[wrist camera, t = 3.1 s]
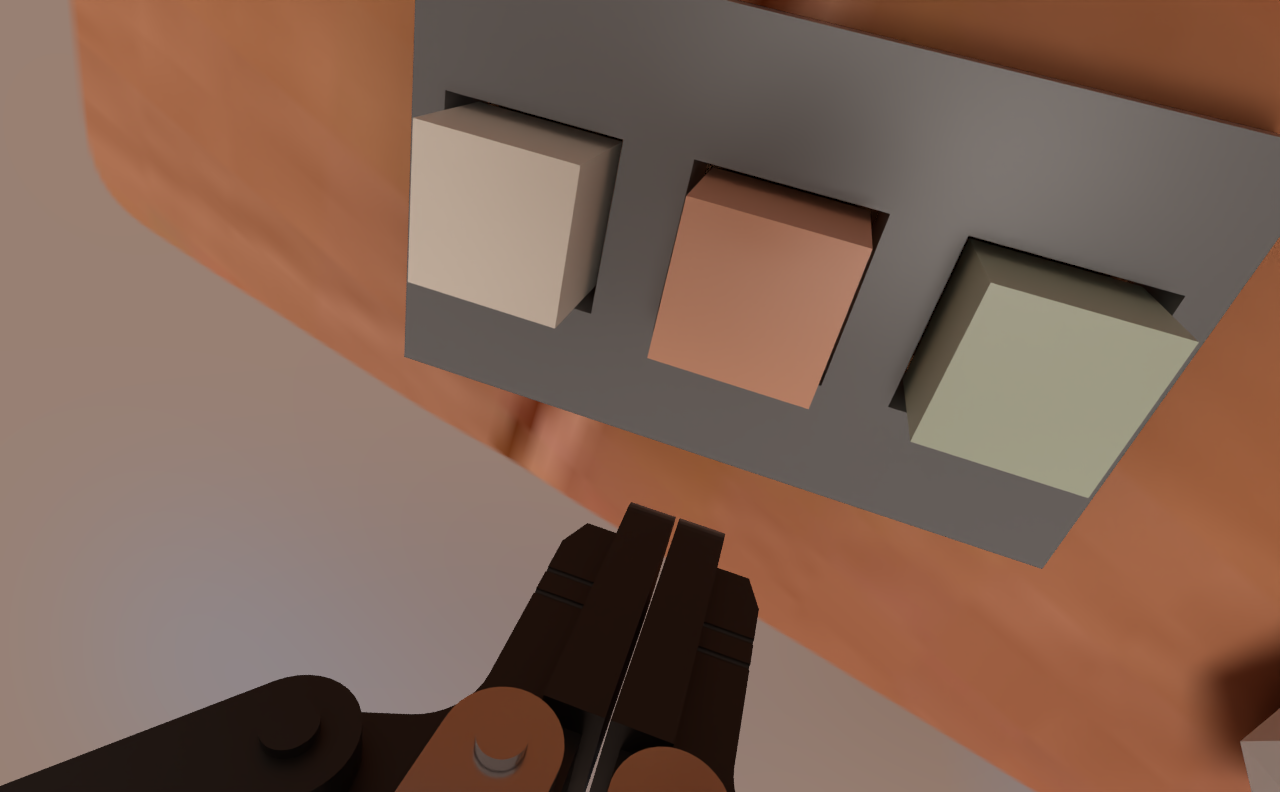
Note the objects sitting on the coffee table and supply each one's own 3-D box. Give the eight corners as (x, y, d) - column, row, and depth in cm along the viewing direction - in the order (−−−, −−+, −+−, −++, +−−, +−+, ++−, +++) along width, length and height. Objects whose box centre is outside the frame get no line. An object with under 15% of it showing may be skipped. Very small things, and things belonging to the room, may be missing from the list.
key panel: (468, -67, 22) (417, -76, 19) (1275, 132, 19) (1340, 151, 16) (443, 326, 29) (404, 356, 27) (1024, 515, 26) (1042, 568, 24)
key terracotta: (712, 166, 22) (686, 195, 19) (870, 210, 21) (872, 248, 18) (676, 309, 25) (646, 357, 21) (815, 352, 24) (808, 409, 21)
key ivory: (478, 101, 23) (412, 117, 20) (622, 141, 22) (580, 165, 19) (467, 245, 26) (408, 281, 22) (596, 285, 25) (554, 328, 22)
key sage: (969, 238, 21) (990, 282, 18) (1142, 286, 20) (1199, 342, 17) (902, 379, 24) (909, 441, 20) (1054, 425, 23) (1088, 498, 20)
